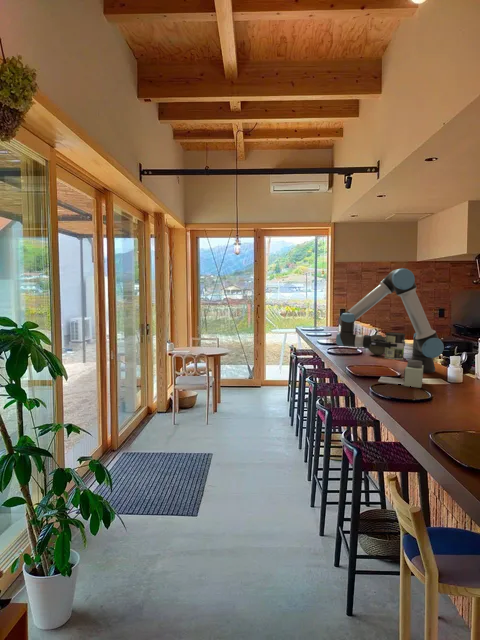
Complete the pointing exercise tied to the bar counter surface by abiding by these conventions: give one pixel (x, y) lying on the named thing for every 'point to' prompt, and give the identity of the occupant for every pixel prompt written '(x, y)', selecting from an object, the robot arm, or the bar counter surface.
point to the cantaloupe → (377, 349)
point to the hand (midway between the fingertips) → (404, 344)
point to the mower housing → (408, 375)
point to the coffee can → (394, 352)
